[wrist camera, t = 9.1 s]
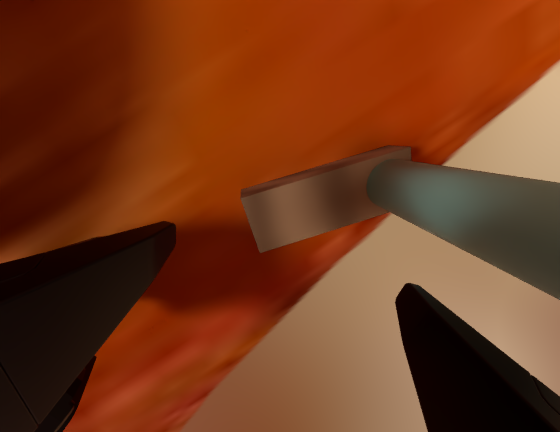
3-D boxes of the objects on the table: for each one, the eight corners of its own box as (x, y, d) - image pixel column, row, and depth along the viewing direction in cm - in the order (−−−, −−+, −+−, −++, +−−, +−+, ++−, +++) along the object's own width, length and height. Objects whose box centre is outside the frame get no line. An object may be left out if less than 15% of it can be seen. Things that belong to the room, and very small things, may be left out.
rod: (360, 203, 19) (574, 326, 7) (374, 155, 17) (670, 196, 5) (402, 209, 19) (662, 329, 7) (418, 163, 18) (763, 215, 6)
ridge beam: (257, 238, 22) (259, 253, 19) (241, 189, 20) (240, 198, 17) (392, 196, 22) (413, 204, 19) (387, 145, 20) (410, 146, 18)
